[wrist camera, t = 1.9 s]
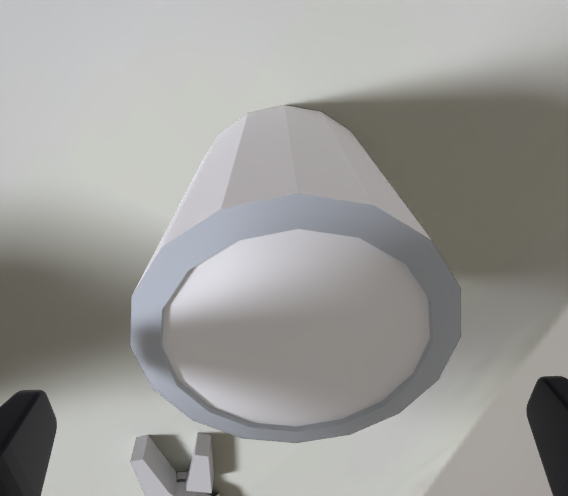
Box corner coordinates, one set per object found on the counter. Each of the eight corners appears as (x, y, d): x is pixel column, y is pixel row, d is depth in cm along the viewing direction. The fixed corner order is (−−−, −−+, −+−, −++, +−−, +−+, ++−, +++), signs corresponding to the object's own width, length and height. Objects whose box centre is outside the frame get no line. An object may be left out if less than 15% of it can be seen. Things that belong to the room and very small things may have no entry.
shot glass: (136, 139, 15) (51, 279, 9) (351, 43, 13) (418, 133, 8) (236, 299, 18) (223, 475, 12) (414, 236, 17) (492, 399, 11)
